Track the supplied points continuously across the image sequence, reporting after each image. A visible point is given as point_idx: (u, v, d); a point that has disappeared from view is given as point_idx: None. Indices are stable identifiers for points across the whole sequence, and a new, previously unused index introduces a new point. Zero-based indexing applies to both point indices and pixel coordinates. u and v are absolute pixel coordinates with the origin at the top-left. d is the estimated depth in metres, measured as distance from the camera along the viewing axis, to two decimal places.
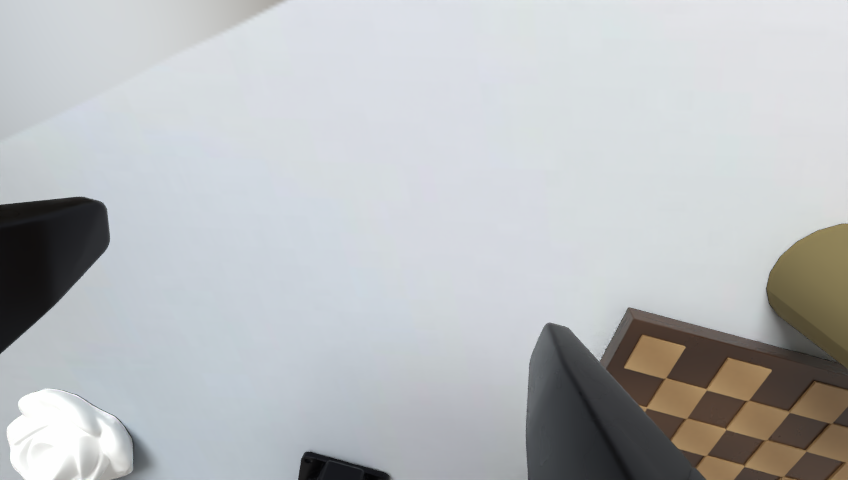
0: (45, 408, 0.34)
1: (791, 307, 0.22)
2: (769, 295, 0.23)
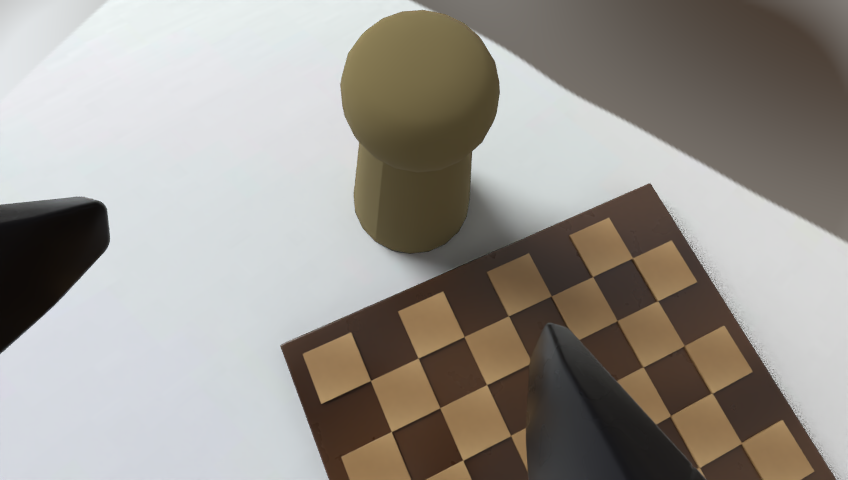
0: None
1: (377, 226, 0.22)
2: (380, 243, 0.23)
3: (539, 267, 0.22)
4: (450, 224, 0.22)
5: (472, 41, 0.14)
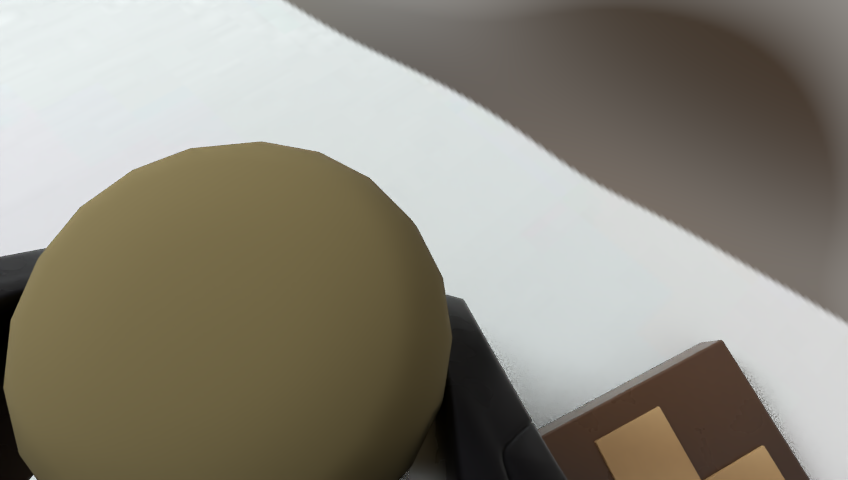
0: None
1: None
2: None
3: None
4: None
5: (366, 241, 0.05)
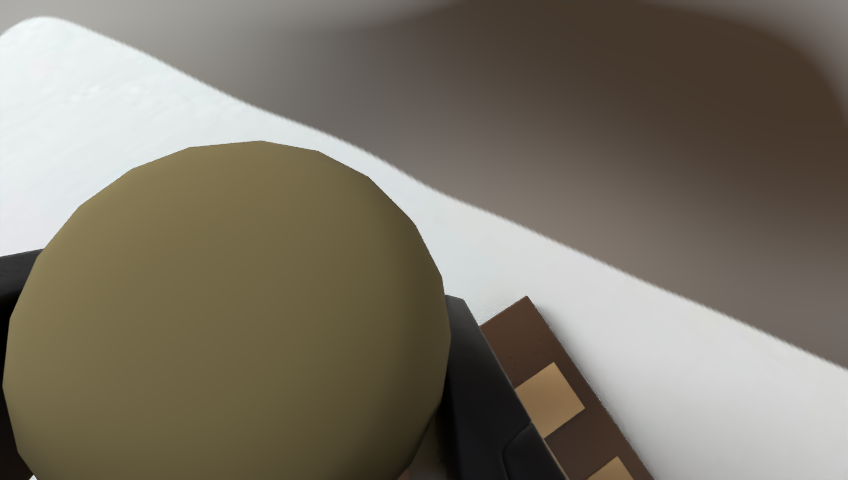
0: None
1: None
2: None
3: None
4: None
5: (365, 240, 0.05)
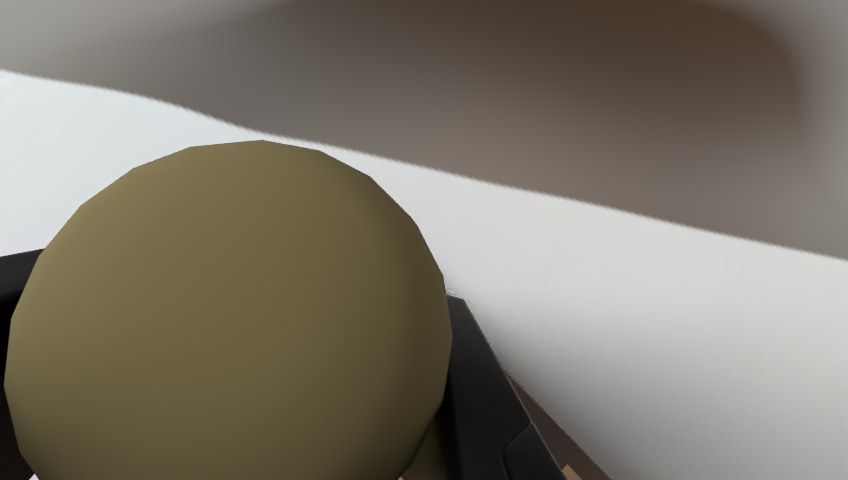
0: None
1: None
2: None
3: None
4: None
5: (367, 240, 0.05)
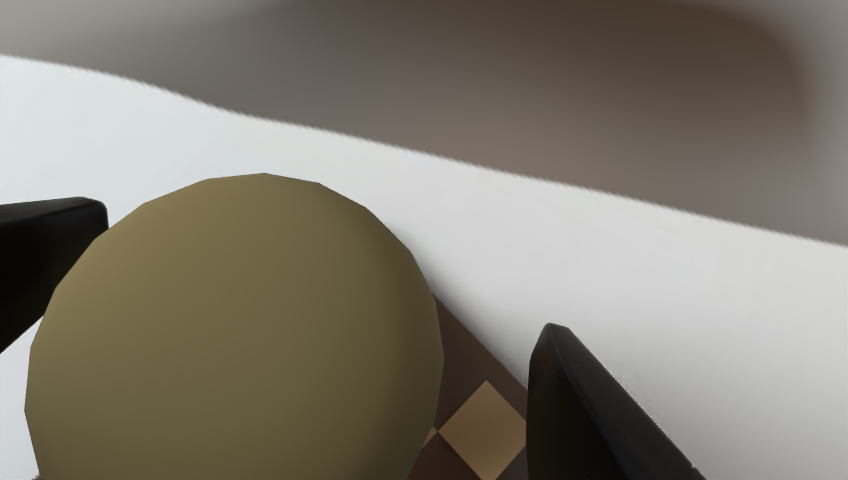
0: None
1: None
2: None
3: None
4: None
5: (362, 273, 0.05)
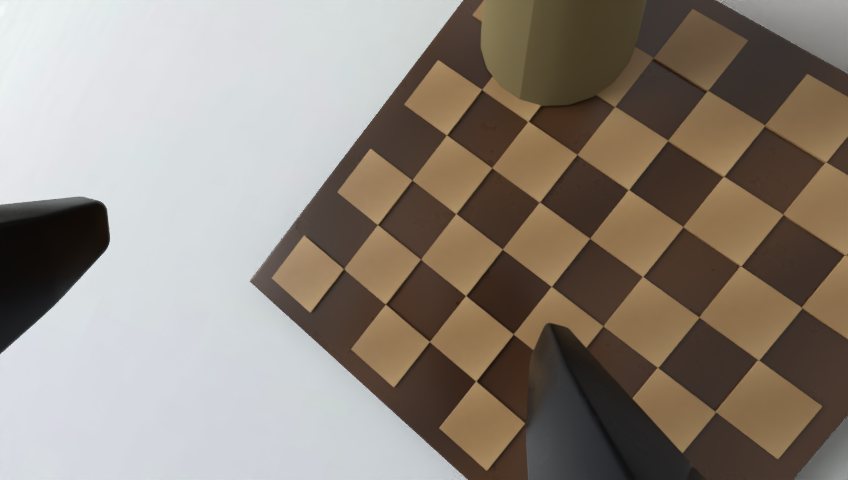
0: None
1: (523, 74, 0.17)
2: (527, 99, 0.18)
3: (456, 68, 0.19)
4: (624, 47, 0.16)
5: None
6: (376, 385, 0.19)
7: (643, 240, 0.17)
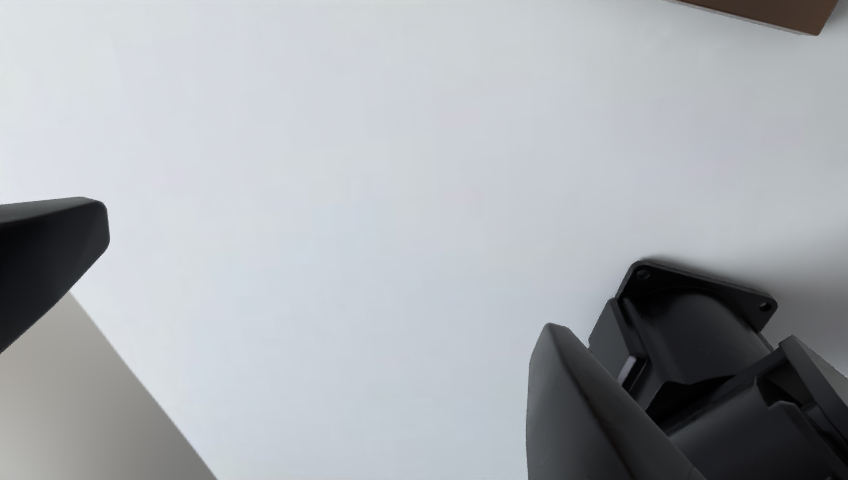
0: None
1: None
2: None
3: None
4: None
5: None
6: None
7: None
